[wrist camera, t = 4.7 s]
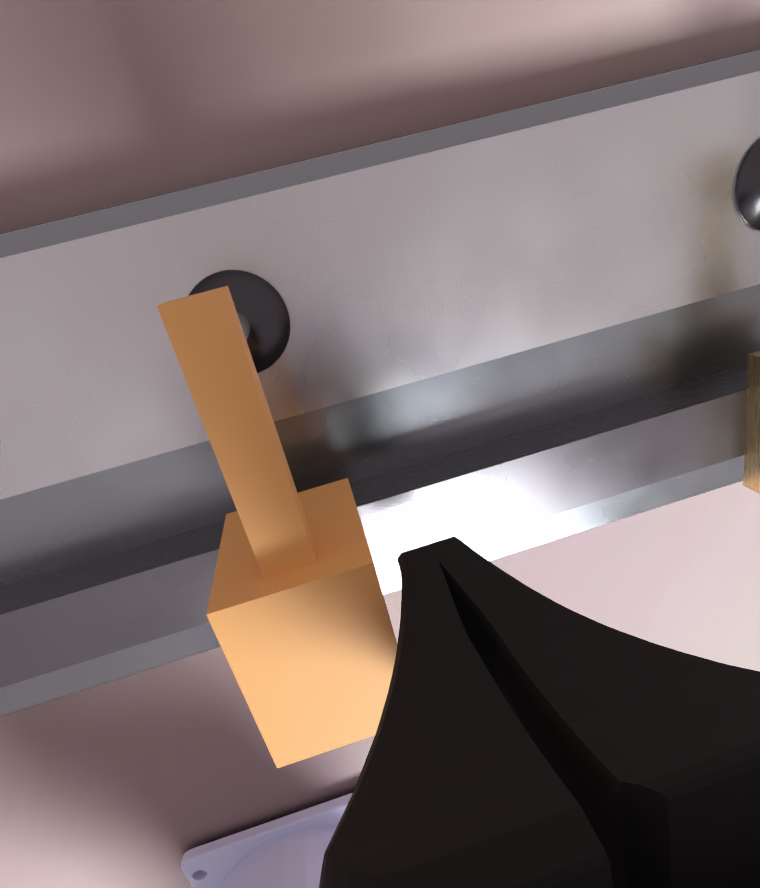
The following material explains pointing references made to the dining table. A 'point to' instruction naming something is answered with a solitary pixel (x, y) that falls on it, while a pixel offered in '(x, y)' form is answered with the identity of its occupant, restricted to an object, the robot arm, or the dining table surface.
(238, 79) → the dining table surface
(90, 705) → the dining table surface
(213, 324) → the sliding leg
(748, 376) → the board
